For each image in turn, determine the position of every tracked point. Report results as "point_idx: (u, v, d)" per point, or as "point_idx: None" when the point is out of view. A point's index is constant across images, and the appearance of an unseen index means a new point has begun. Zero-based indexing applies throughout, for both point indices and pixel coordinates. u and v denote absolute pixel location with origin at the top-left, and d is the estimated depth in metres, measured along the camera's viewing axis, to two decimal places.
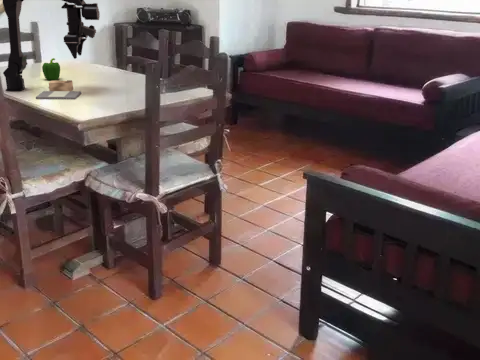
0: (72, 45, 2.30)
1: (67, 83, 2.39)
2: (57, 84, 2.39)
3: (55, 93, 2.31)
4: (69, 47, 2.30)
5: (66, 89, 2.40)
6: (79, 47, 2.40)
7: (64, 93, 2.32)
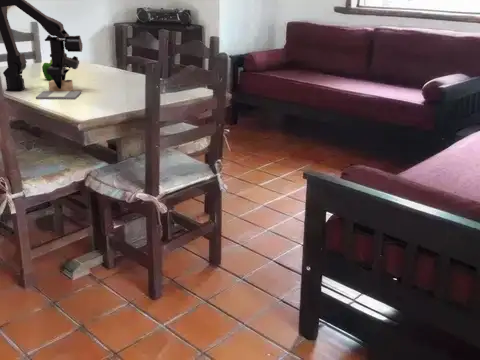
0: (56, 76, 2.36)
1: (67, 82, 2.39)
2: None
3: (55, 93, 2.31)
4: (53, 78, 2.36)
5: (66, 88, 2.40)
6: (62, 78, 2.43)
7: (64, 93, 2.32)
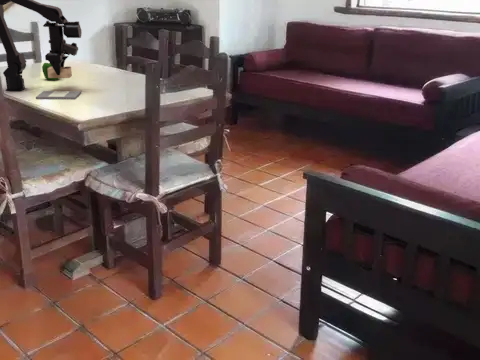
0: (55, 62, 2.34)
1: (66, 69, 2.37)
2: None
3: (55, 93, 2.31)
4: (52, 64, 2.34)
5: (65, 75, 2.38)
6: (60, 65, 2.41)
7: (64, 93, 2.32)
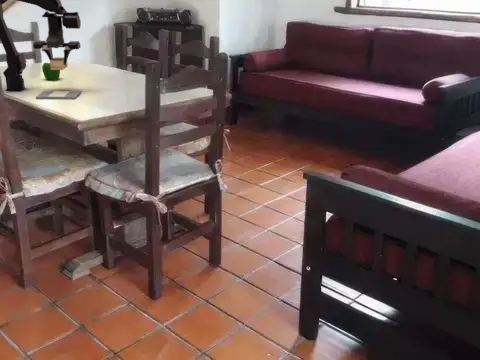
0: None
1: None
2: None
3: (55, 93, 2.31)
4: None
5: None
6: None
7: (64, 93, 2.32)
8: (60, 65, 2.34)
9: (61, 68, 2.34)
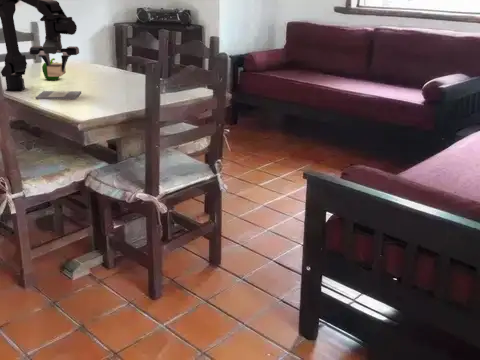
0: None
1: None
2: None
3: (55, 93, 2.31)
4: None
5: None
6: None
7: (64, 93, 2.32)
8: (58, 72, 2.23)
9: (59, 75, 2.24)
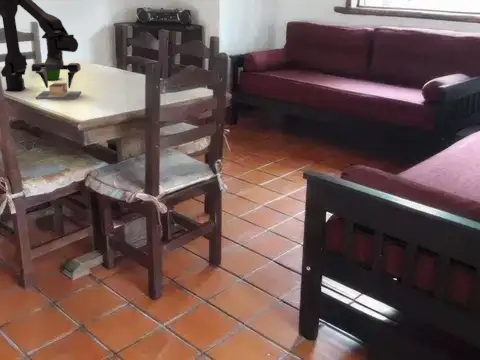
0: None
1: None
2: None
3: None
4: None
5: None
6: None
7: None
8: (60, 91, 2.26)
9: (61, 94, 2.27)
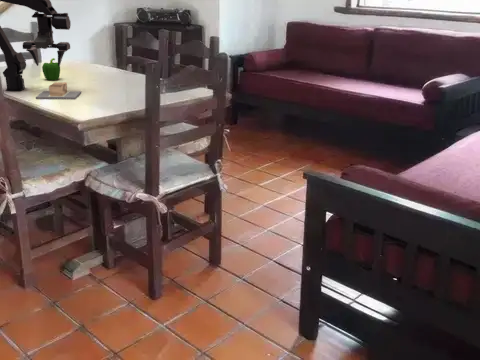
0: None
1: None
2: None
3: None
4: None
5: None
6: None
7: None
8: (60, 91, 2.26)
9: (61, 94, 2.27)
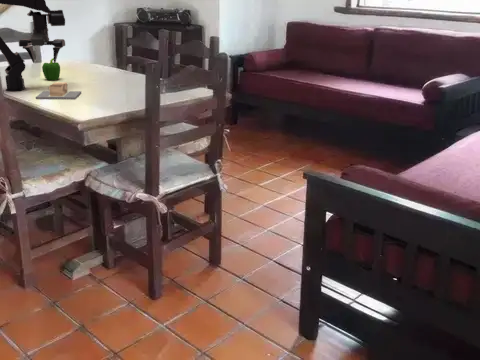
0: None
1: None
2: None
3: None
4: None
5: None
6: None
7: None
8: (60, 91, 2.26)
9: (61, 94, 2.27)
